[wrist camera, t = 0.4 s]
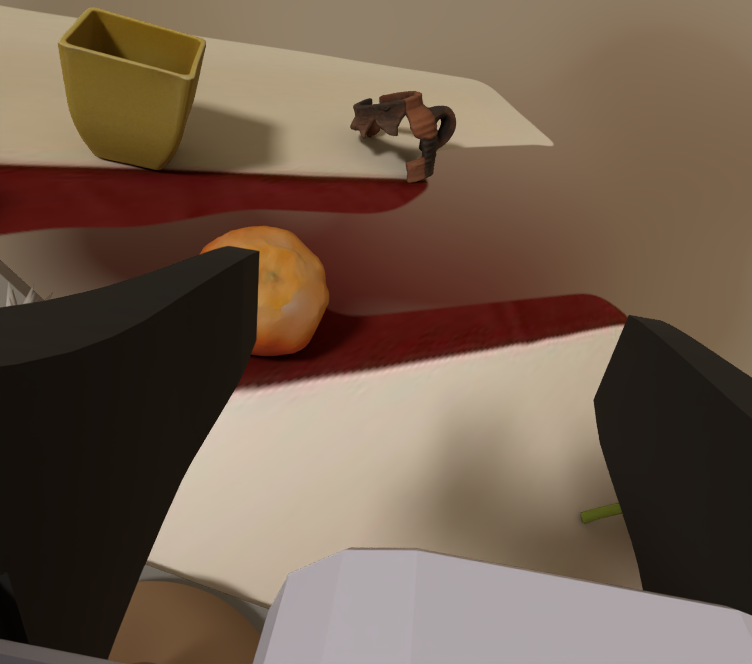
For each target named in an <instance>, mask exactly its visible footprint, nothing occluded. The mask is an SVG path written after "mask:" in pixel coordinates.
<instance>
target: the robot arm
mask: <svg viewBox="0 0 752 664" xmlns="http://www.w3.org/2000/svg"><path fill="white" fill-rule="evenodd" d="M259 255H260V251H257V250H251V249H245V248H239V247H234V246H225V247H221V248H217V249H214V250H211V251H208V252H205V253H202V254H200V255H197V256H194V257H191V258H189V259H186V260H183V261H181V262H178V263H175V264H173V265H170V266H167V267H165V268H162V269H159V270H156V271H153V272H150V273H147V274H144V275H141V276H138V277H135V278H132V279H129V280H126V281H122V282H119V283H116V284H113V285H110V286H106V287H103V288H99V289H95V290H91V291H87V292H83V293H78V294H74V295H69V296H65V297H60V298H56V299H51V300H46V301H40V302H33V303H26V304H20V305H13V306H6V307H0V664H126V663H121V662H116V661H110V660H108V658H109V655H110V652H111V650H112V647H113V644H114V642H115V639H116V636H117V634H118V631H119V628H120V626H121V623H122V621H123V618H124V616H125V613H126V611H127V608H128V606H129V603H130V601H131V598H132V596H133V593H134V591H135V588H136V586H137V583H138V581H139V578H140V576H141V573H142V571H143V568H144V566H145V564H146V561H147V559H148V557H149V554H150V552H151V549H152V547H153V545H154V542H155V540H156V538H157V535H158V533H159V531H160V528H161V526H162V523H163V521H164V519H165V517H166V515H167V512H168V510H169V508H170V506H171V503H172V501H173V499H174V497H175V495H176V492H177V490H178V488H179V486H180V483H181V481H182V479H183V477H184V475H185V474H186V472H187V470H188V468H189V466H190V464H191V462H192V460H193V459H194V457H195V455H196V454H197V452H198V450H199V449H200V447H201V445H202V444H203V442H204V440H205V439H206V437H207V435H208V434H209V432H210V430H211V429H212V427H213V425H214V424H215V422H216V420H217V419H218V417H219V415H220V414H221V412H222V410H223V409H224V407H225V405H226V404H227V402H228V400H229V398H230V397H231V395H232V393H233V392H234V390H235V388H236V387H237V385H238V383H239V381H240V379H241V378H242V375H243V373H244V370H245V368H246V366H247V363H248V361H249V358H250V356H251V353H252V350H253V348H254V345H255V343H256V340H257V313H258V284H259ZM594 407H595V415H596V423H597V429H598V435H599V440H600V445H601V448H602V452H603V455H604V458H605V461H606V464H607V468H608V471H609V474H610V477H611V480H612V483H613V486H614V489H615V492H616V495H617V498H618V502H619V505H620V508H621V511H622V514H623V517H624V520H625V523H626V526H627V529H628V532H629V535H630V538H631V541H632V545H633V549H634V552H635V556H636V559H637V563H638V567H639V572H640V577H641V582H642V587H643V590H638V589H633V588H627V587H622V586H616V585H611V584H606V583H600V582H595V581H590V580H584V579H579V578H574V577H568V576H563V575H558V574H552V573H547V572H541V571H536V570H531V569H525V568H520V567H515V566H509V565H504V564H499V563H493V562H488V561H483V560H477V559H472V558H466V557H461V556H456V555H450V554H445V553H440V552H434V551H429V550H424V549H418V548H348V549H345V550H342V551H340V552H337V553H335V554H333V555H330V556H328V557H326V558H323V559H321V560H319V561H317V562H314V563H312V564H310V565H307V566H305V567H303V568H300V569H298V570H296V571H293V572H291V573H289V574H288V576H287V578H286V580H285V582H284V583H283V585H282V587H281V589H280V591H279V593H278V594H277V596H276V598H275V600H274V602H273V604H272V605H271V607H270V609H269V611H268V614H267V617H266V621H265V624H264V627H263V631H262V634H261V638H260V641H259V644H258V648H257V651H256V654H255V658H254V661H253V664H752V378H751V377H750V376H749V375H747V374H745V373H744V372H742V371H741V370H739V369H738V368H736V367H735V366H734V365H732V364H731V363H729V362H728V361H726V360H724V359H723V358H722V357H720V356H719V355H717V354H716V353H714V352H713V351H711V350H710V349H708V348H707V347H705V346H704V345H702V344H701V343H699V342H698V341H696V340H695V339H693V338H692V337H690V336H688V335H687V334H685V333H684V332H682V331H680V330H679V329H677V328H675V327H673V326H671V325H670V324H667V323H665V322H663V321H660V320H655V319H649V318H643V317H637V316H631V315H629V316H628V318H627V321H626V323H625V326H624V328H623V330H622V333H621V335H620V338H619V340H618V342H617V345H616V347H615V350H614V352H613V354H612V357H611V359H610V362H609V364H608V366H607V369H606V371H605V374H604V376H603V378H602V381H601V383H600V386H599V388H598V390H597V393H596V395H595V398H594Z"/></svg>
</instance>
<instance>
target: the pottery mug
mask: <svg viewBox="0 0 752 664" xmlns="http://www.w3.org/2000/svg"><path fill="white" fill-rule="evenodd" d="M379 102H380V104H373V105H372V99H371V98H369V99H366V100H363V101H361V102H359V103H356V104H355V105H354V106H353V108H354V111H355V118H354V119H353V121H352V124H351V126H350V128H351V129H353V130H355V131H356V130H359V131H360V133H361V135H362V137H363V138H366V135H367V136H368V137H372V136H373V135H375V134H377V133H378V132H379V131H380V128H381V129H383V130H384V131H385V132H386V133H387V134H389V135H392V136H397V135H398V126H399V124H400V122H401V120H402V119H403V117H404V116H405V115H406V117H407V118H408V120H409V123H410V129H411V131H412V132H413V134H414V136H415V137H416V138H418V139H420V145H419V149H420V150H421V151H422V157H419V158H418V159H415V160H413V161H409V162H407V163H406V169H407V182H408V183H412V182H417V181H420V180H422V179H425V178H427V177H429V176H431V175H432V174H433V170H434V163H435V157H436V151H437V149H439V148H440V147H442V146H443V145H444V144H446V143H447V142H448V141H449V139H450V138H451V137H452V135H453V133H454V131H455V128H456V118H455V114H454V112H453V111H452V110H451V109H450V108H449V107H447V106H434V107H430V108H428V107H426V106H425V105H424V104H423V101H422V93H420V92H416V91H408V92H399V93H393V94H388V95H383V96H381V97H379ZM439 119H441V126H440V128H439V130H437V122H438V120H439Z"/></svg>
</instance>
